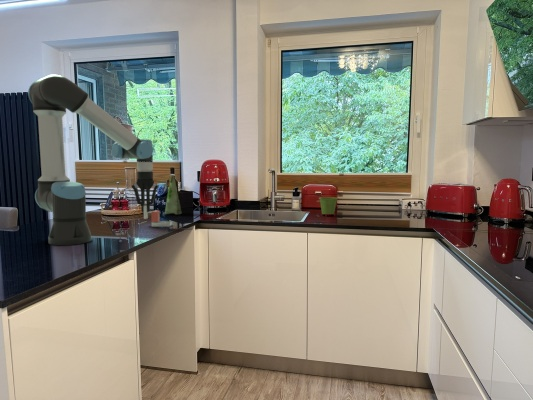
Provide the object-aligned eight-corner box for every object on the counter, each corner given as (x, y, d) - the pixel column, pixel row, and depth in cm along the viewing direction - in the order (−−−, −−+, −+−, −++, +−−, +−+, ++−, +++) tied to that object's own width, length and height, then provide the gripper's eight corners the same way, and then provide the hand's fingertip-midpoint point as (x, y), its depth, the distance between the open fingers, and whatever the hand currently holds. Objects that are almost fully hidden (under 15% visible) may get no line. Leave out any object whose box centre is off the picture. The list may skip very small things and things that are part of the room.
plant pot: (316, 214, 243) (316, 197, 242) (334, 214, 244) (334, 197, 243) (320, 217, 231) (321, 198, 230) (340, 217, 232) (340, 198, 231)
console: (170, 226, 190) (170, 222, 190) (151, 226, 189) (151, 222, 189) (171, 225, 195) (171, 221, 194) (153, 225, 194) (153, 221, 194)
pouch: (174, 215, 228) (174, 174, 226) (158, 214, 233) (158, 173, 231) (185, 213, 238) (185, 173, 236) (170, 212, 243) (170, 173, 241)
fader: (157, 222, 189) (157, 211, 188) (151, 222, 189) (151, 211, 188) (159, 220, 194) (159, 210, 193) (153, 220, 194) (153, 210, 193)
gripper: (159, 171, 193) (160, 217, 195) (133, 170, 192) (134, 217, 194) (157, 171, 185) (157, 219, 188) (129, 171, 184) (130, 219, 186)
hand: (145, 218), depth 191 cm, fingers closed
